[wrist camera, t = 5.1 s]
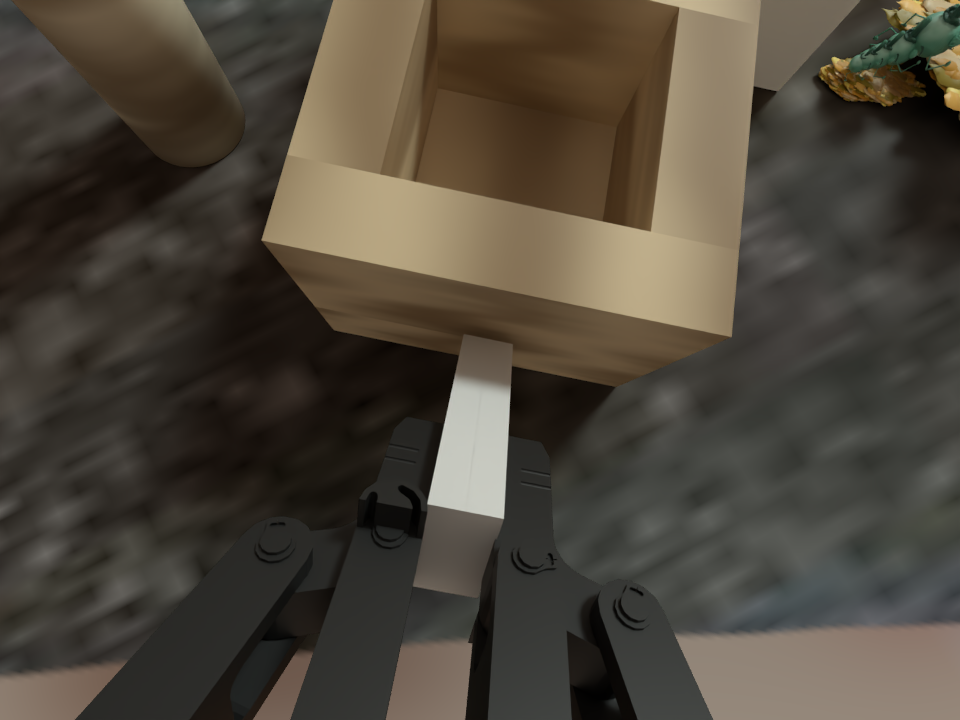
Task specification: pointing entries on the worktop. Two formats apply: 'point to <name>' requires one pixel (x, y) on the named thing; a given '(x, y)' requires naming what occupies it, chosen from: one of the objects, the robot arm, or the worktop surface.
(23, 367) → the worktop surface
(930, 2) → the green yellow irregular piece
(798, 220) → the worktop surface
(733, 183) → the block
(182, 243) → the worktop surface
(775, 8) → the backstop
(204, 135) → the dowel
